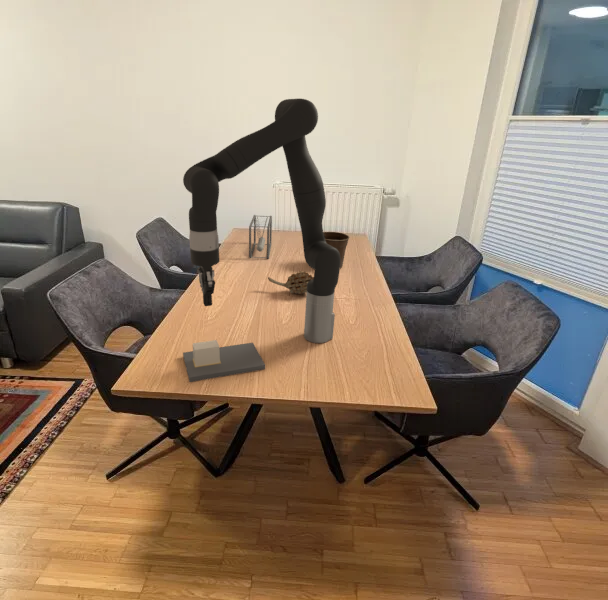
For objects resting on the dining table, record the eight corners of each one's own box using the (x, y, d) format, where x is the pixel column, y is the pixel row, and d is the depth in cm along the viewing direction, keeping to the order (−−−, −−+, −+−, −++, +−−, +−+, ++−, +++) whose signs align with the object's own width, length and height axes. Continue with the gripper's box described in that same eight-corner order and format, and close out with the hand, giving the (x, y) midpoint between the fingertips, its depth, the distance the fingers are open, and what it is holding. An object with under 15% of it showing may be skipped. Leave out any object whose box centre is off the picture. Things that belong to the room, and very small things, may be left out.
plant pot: (347, 271, 207) (350, 240, 201) (315, 270, 207) (317, 238, 201) (345, 261, 222) (348, 232, 216) (315, 260, 222) (317, 230, 215)
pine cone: (317, 290, 182) (318, 269, 178) (315, 299, 173) (316, 277, 169) (267, 286, 183) (268, 265, 179) (263, 294, 175) (264, 272, 171)
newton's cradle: (253, 243, 245) (254, 214, 238) (271, 244, 245) (272, 214, 238) (248, 259, 217) (248, 226, 210) (268, 260, 218) (269, 227, 211)
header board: (252, 346, 134) (252, 331, 132) (265, 369, 122) (265, 352, 120) (183, 356, 126) (182, 340, 124) (189, 382, 115) (188, 365, 112)
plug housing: (217, 355, 125) (216, 339, 123) (219, 362, 122) (219, 346, 119) (193, 359, 122) (192, 343, 120) (195, 366, 119) (194, 350, 117)
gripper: (223, 251, 105) (226, 312, 112) (213, 238, 116) (216, 294, 123) (193, 254, 102) (198, 316, 109) (186, 240, 113) (190, 297, 120)
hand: (207, 304), depth 116 cm, fingers closed
